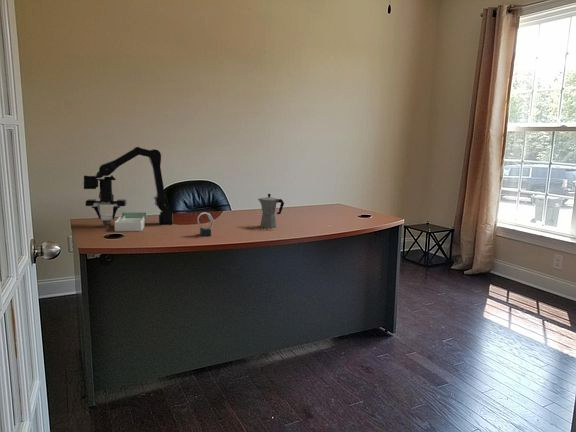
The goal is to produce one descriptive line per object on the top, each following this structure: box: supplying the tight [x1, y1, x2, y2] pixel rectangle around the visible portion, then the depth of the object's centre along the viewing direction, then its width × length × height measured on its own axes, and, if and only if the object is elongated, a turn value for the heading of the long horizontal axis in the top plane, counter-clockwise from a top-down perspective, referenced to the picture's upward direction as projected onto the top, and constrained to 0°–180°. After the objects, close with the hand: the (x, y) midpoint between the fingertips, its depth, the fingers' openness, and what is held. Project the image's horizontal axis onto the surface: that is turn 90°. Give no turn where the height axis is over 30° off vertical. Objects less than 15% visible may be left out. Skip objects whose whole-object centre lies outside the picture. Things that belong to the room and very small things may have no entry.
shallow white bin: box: [114, 216, 146, 232], centre depth 228 cm, size 12×16×4 cm
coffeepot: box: [257, 193, 285, 229], centre depth 244 cm, size 15×9×18 cm, turn 66°
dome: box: [99, 214, 114, 222], centre depth 230 cm, size 6×6×2 cm
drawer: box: [120, 211, 148, 222], centre depth 237 cm, size 12×16×4 cm
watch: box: [196, 212, 215, 237], centre depth 218 cm, size 6×8×11 cm
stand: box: [102, 220, 112, 228], centre depth 230 cm, size 4×4×4 cm
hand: (106, 219), depth 230 cm, fingers closed on dome, 6 cm apart
